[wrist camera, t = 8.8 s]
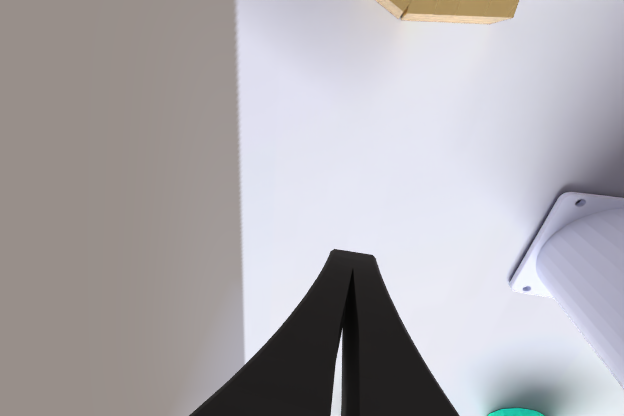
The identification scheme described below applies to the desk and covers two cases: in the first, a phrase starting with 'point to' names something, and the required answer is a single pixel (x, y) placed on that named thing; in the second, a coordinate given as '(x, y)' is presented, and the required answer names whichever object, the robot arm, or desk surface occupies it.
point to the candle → (515, 412)
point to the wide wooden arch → (452, 10)
